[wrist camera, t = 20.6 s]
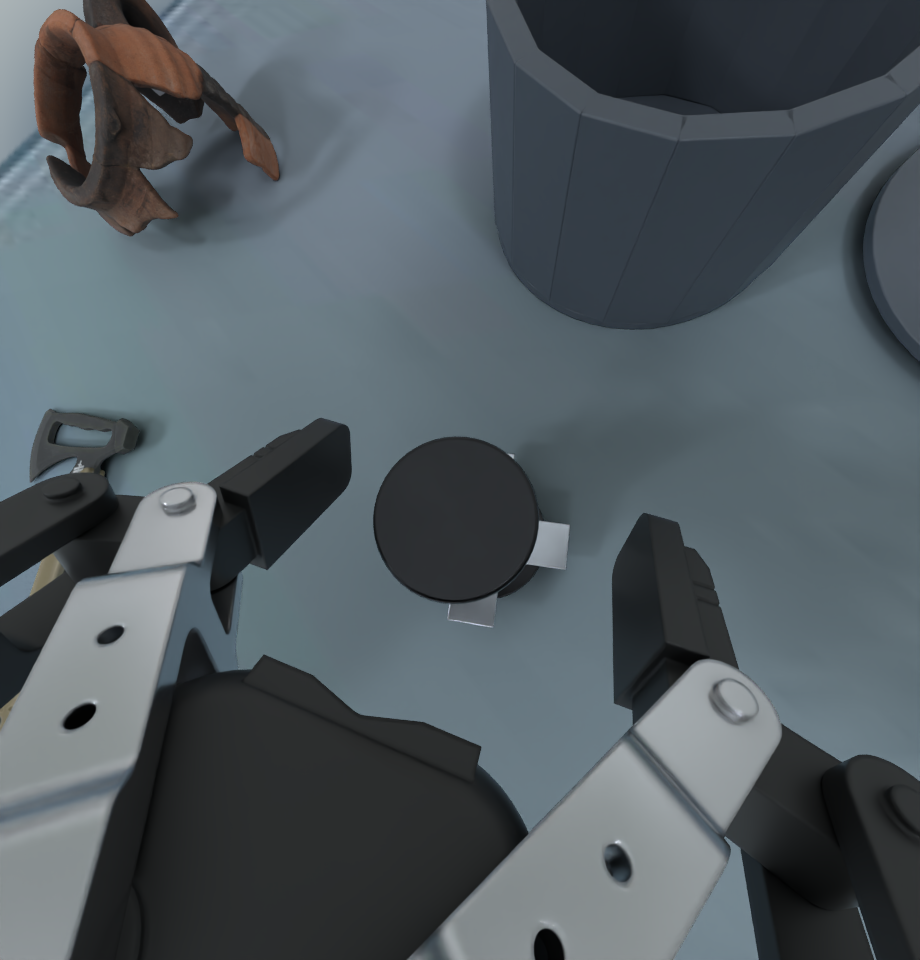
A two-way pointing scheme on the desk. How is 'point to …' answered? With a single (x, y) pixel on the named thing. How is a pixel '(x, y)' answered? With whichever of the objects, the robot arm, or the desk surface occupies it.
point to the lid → (896, 253)
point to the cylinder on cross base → (464, 527)
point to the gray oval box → (681, 139)
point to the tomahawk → (87, 461)
